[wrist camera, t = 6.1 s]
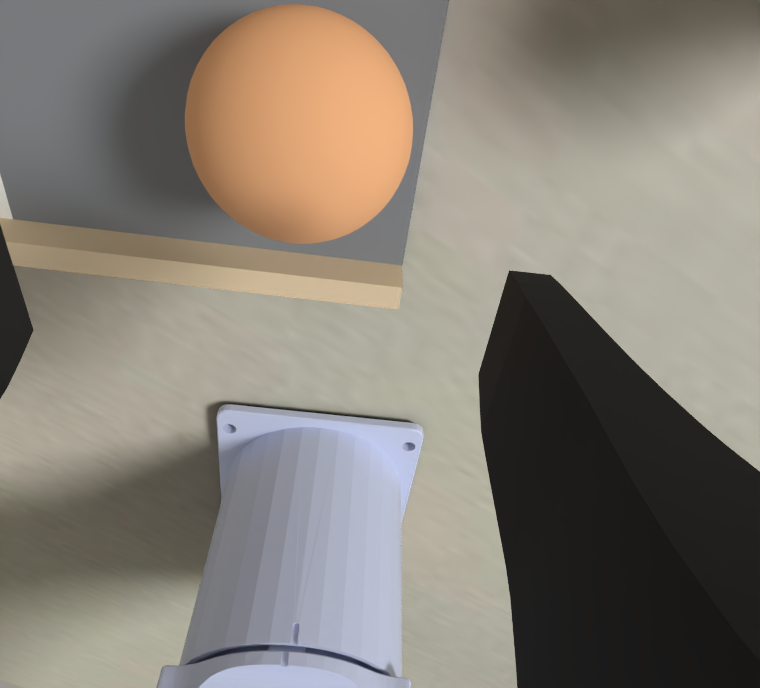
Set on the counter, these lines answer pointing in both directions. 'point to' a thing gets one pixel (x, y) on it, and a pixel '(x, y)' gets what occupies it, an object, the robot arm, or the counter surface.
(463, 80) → the counter surface
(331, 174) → the ball
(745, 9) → the counter surface
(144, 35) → the lane
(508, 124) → the counter surface
